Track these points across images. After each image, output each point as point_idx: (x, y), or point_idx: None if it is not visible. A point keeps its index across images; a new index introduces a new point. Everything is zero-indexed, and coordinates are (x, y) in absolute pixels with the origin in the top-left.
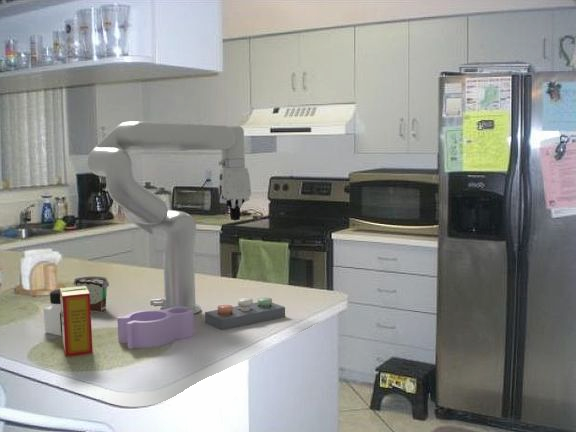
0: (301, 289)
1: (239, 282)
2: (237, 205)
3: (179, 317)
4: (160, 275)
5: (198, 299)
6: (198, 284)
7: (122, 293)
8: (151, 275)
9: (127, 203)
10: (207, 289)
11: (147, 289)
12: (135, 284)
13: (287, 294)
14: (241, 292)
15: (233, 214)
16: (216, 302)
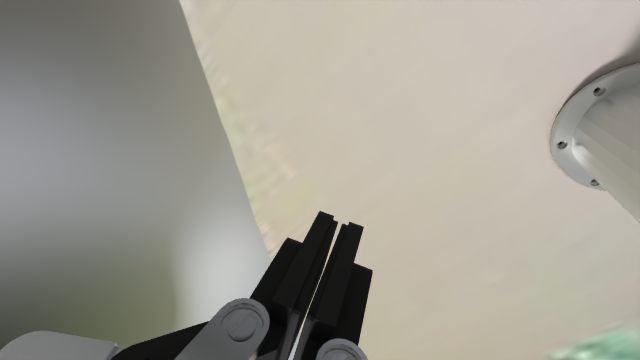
0: (203, 22)
1: (270, 199)
2: (263, 353)
3: None
4: None
5: (460, 177)
6: None
7: (505, 340)
8: None
9: None
10: (363, 218)
11: (443, 317)
12: (421, 350)
13: (264, 9)
14: (332, 134)
15: (356, 283)
16: (463, 114)
